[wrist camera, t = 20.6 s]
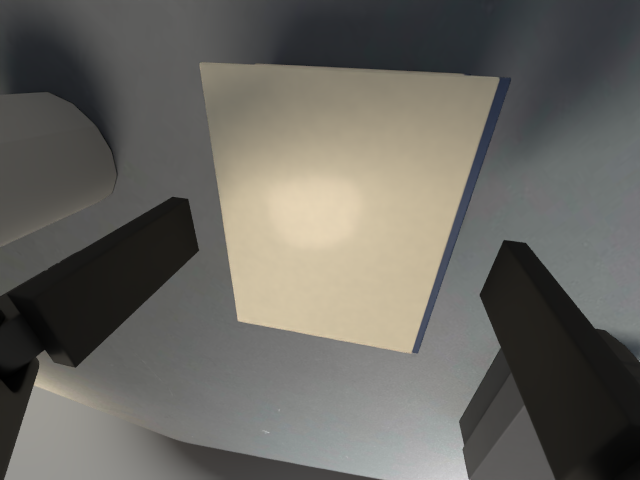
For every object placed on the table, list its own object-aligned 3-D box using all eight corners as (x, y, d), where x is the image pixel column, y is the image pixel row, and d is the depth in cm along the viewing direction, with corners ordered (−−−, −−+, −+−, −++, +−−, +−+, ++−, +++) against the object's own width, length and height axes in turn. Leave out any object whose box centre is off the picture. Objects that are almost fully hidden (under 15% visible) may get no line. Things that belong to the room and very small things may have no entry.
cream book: (488, 76, 11) (513, 77, 9) (414, 321, 17) (418, 355, 15) (230, 63, 12) (197, 61, 10) (254, 293, 19) (237, 321, 17)
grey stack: (624, 357, 22) (681, 426, 18) (546, 441, 29) (574, 505, 24) (504, 337, 23) (530, 396, 19) (456, 421, 30) (468, 479, 26)
